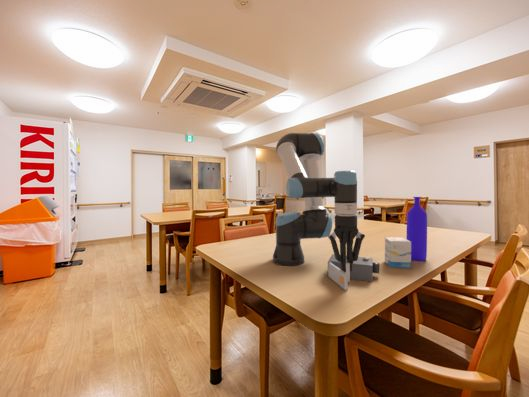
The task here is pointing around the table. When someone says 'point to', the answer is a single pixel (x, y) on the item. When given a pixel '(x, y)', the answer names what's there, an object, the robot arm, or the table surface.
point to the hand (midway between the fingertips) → (346, 280)
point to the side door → (338, 275)
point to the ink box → (398, 252)
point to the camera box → (360, 268)
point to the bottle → (417, 231)
